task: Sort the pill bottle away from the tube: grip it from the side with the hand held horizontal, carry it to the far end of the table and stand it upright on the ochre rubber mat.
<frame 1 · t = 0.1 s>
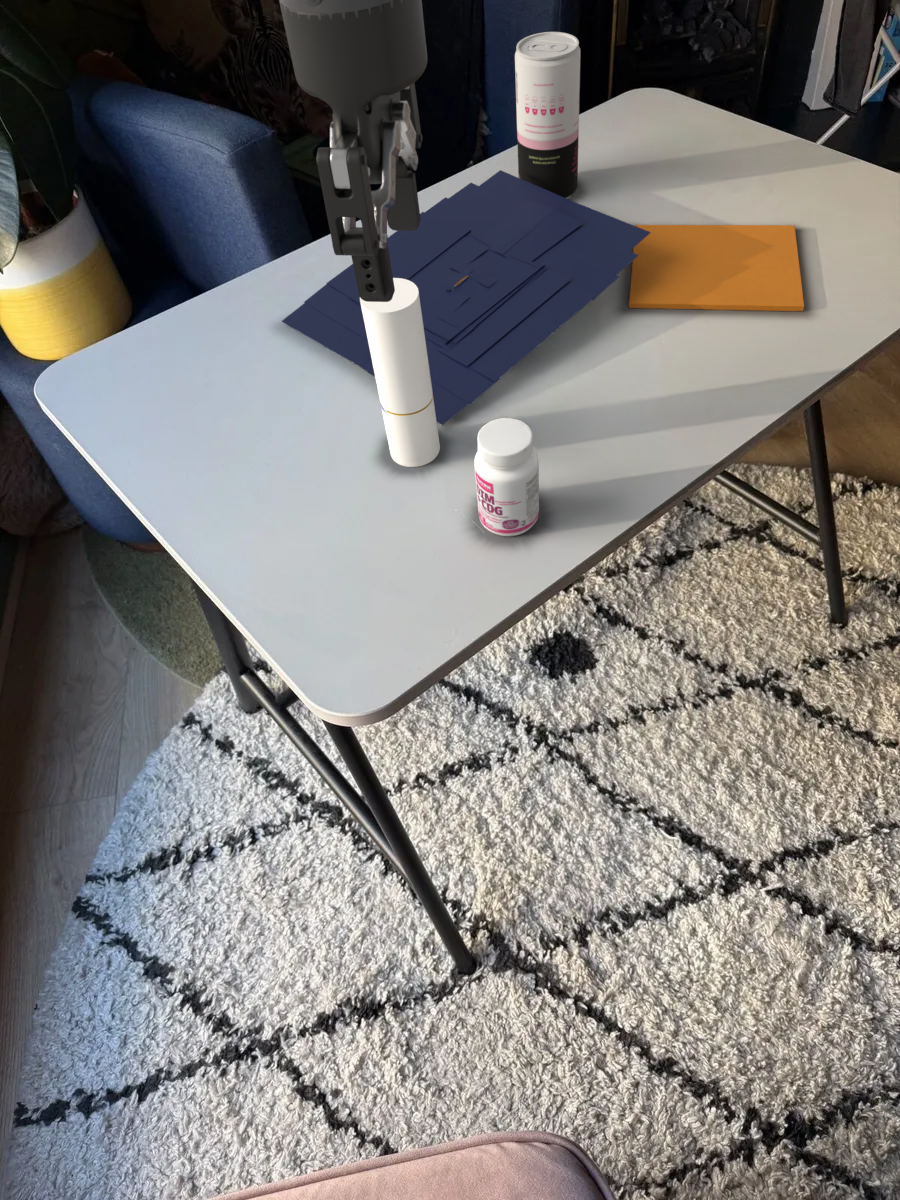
hand: (392, 261, 59), 19 cm above the table, tool pointing down, fingers open, 8 cm apart
pill bottle: (509, 517, 69), on the table
amber mat: (713, 268, 87), on the table
beverage can: (548, 193, 99), on the table
tube: (415, 451, 75), on the table
papers: (470, 302, 88), on the table
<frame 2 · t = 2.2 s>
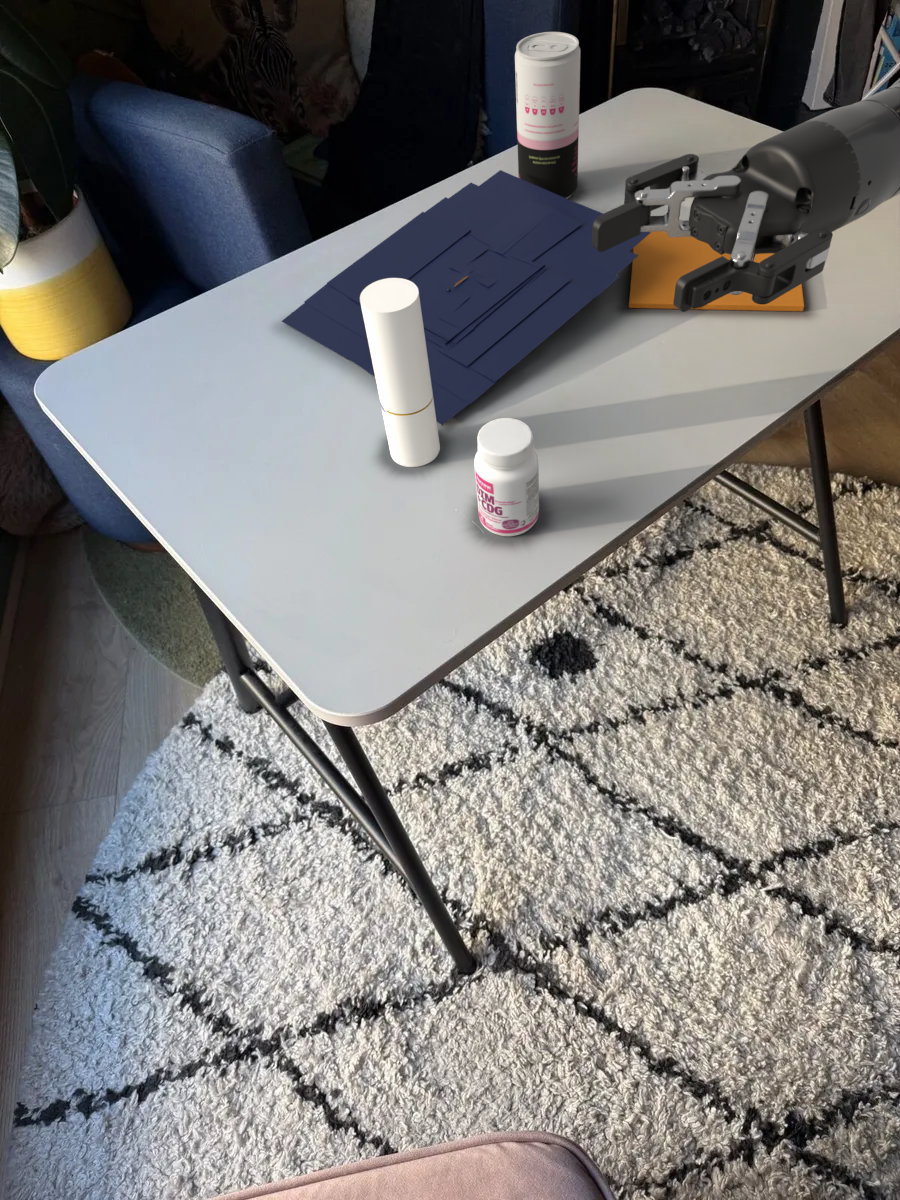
hand: (635, 266, 57), 18 cm above the table, tool horizontal, fingers open, 8 cm apart
nothing on the table moved.
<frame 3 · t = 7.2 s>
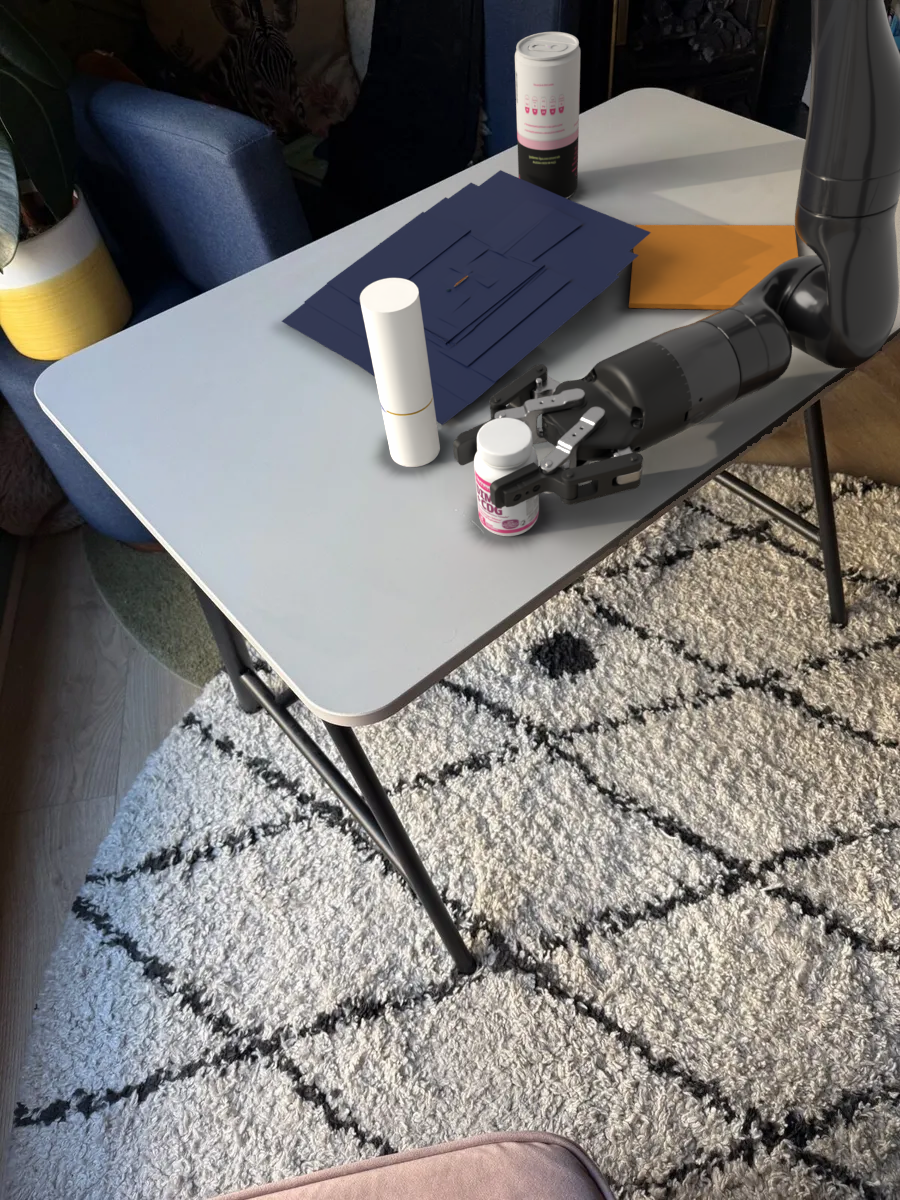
hand: (475, 474, 64), 6 cm above the table, tool horizontal, fingers closed on pill bottle, 4 cm apart
pill bottle: (509, 517, 69), on the table, touching gripper
everything else where it was.
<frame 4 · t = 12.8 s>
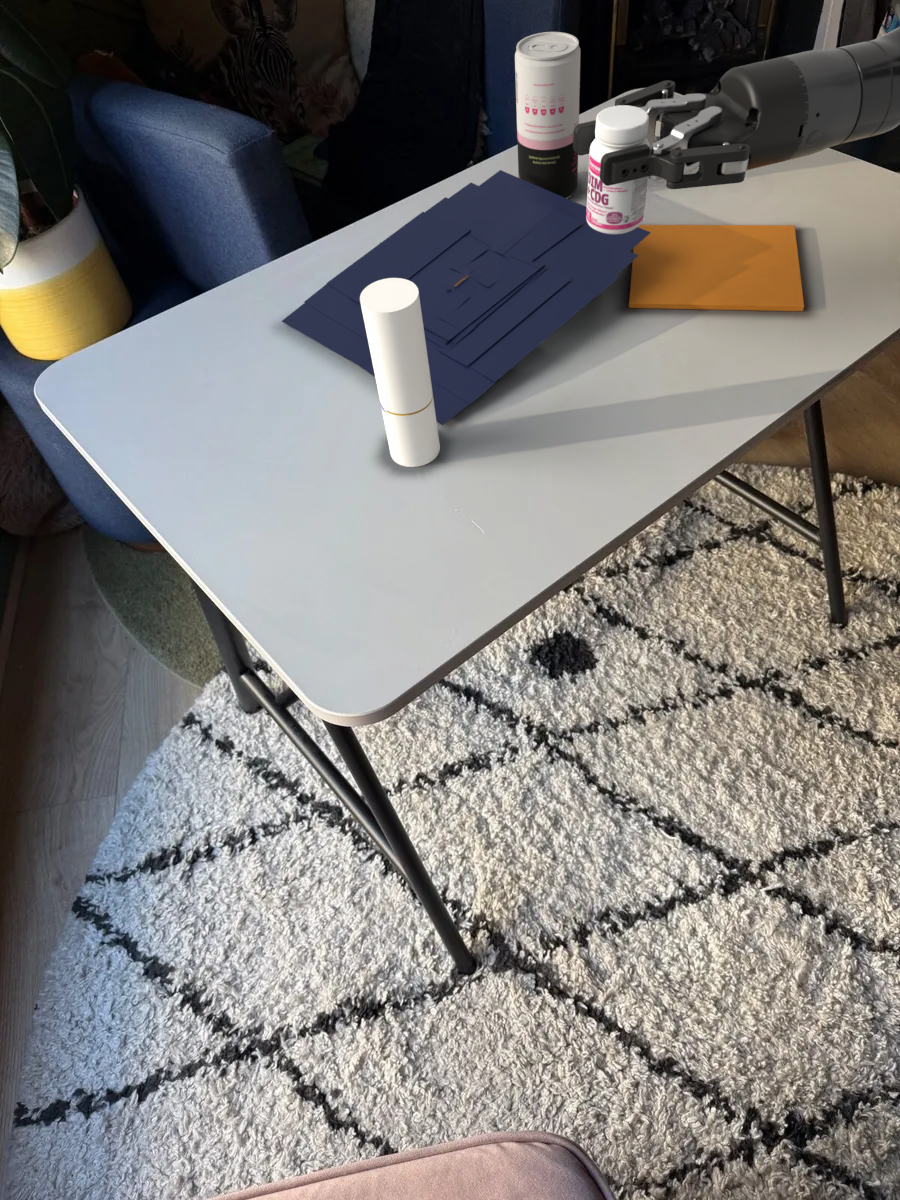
hand: (589, 155, 68), 17 cm above the table, tool horizontal, fingers closed on pill bottle, 4 cm apart
pill bottle: (614, 223, 74), point 11 cm above the table, touching gripper
everything else where it was.
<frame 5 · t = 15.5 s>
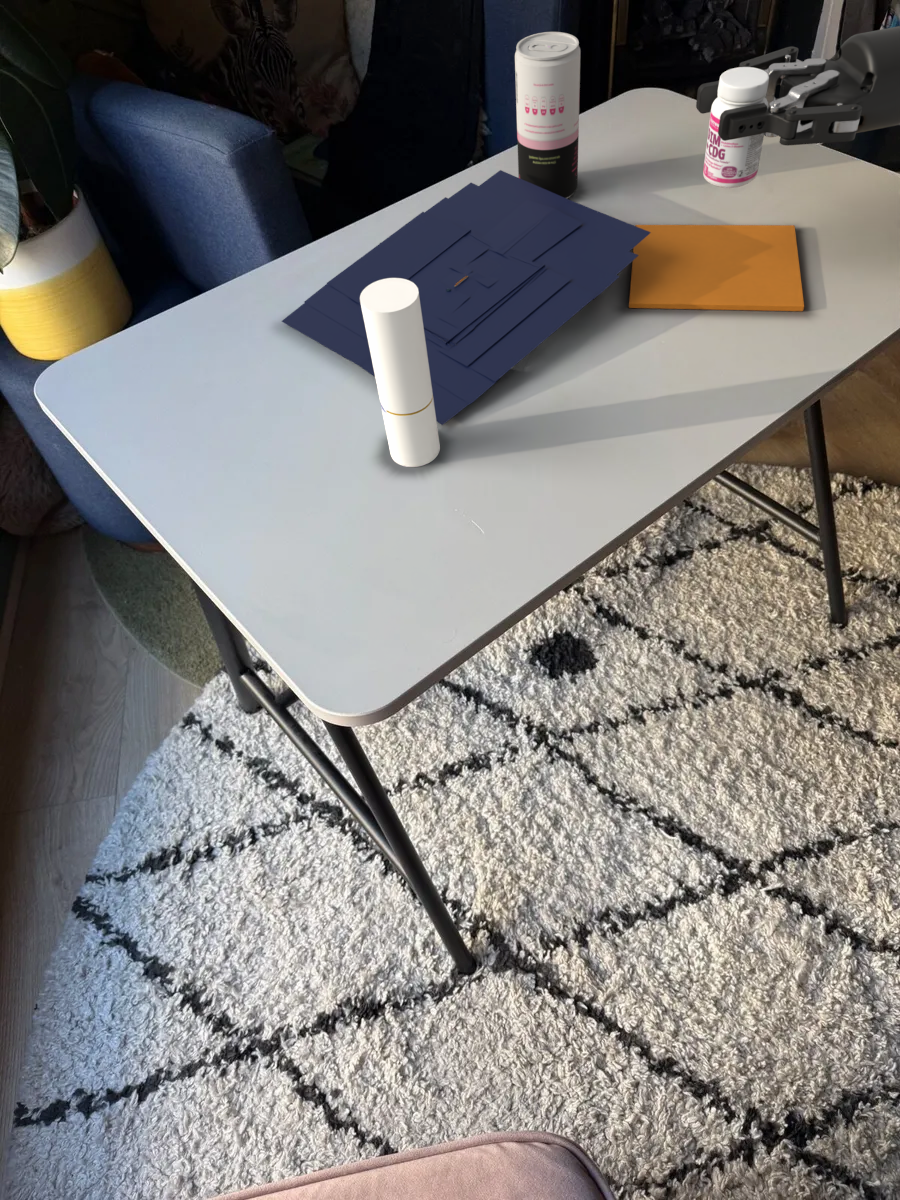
hand: (710, 112, 75), 15 cm above the table, tool horizontal, fingers closed on pill bottle, 4 cm apart
pill bottle: (729, 178, 80), point 9 cm above the table, touching gripper
everything else where it was.
when the fingers open (7 cm above the table, at t = 18.2 s): pill bottle stays where it is, resting on amber mat.
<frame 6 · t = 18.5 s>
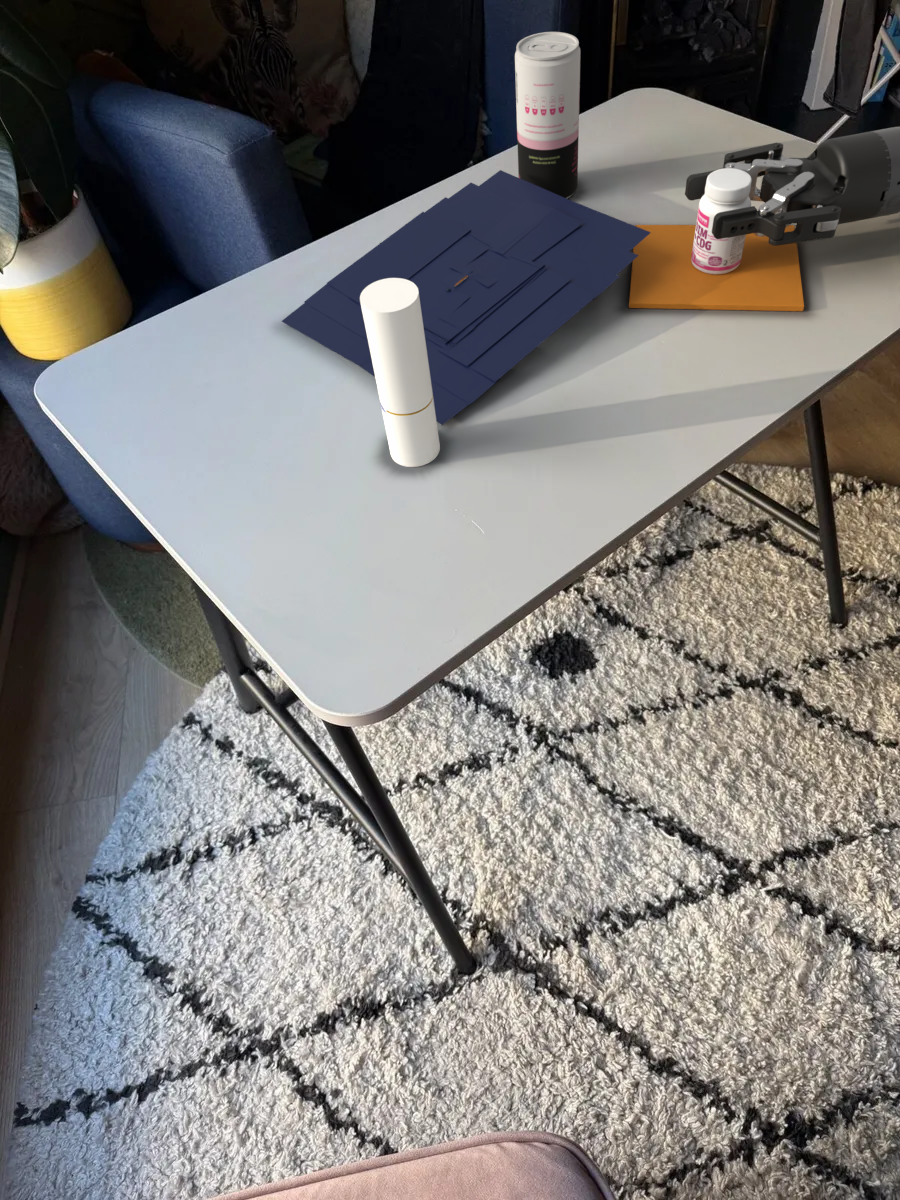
hand: (700, 207, 82), 7 cm above the table, tool horizontal, fingers open, 6 cm apart
pill bottle: (715, 264, 87), resting on amber mat
everything else where it was.
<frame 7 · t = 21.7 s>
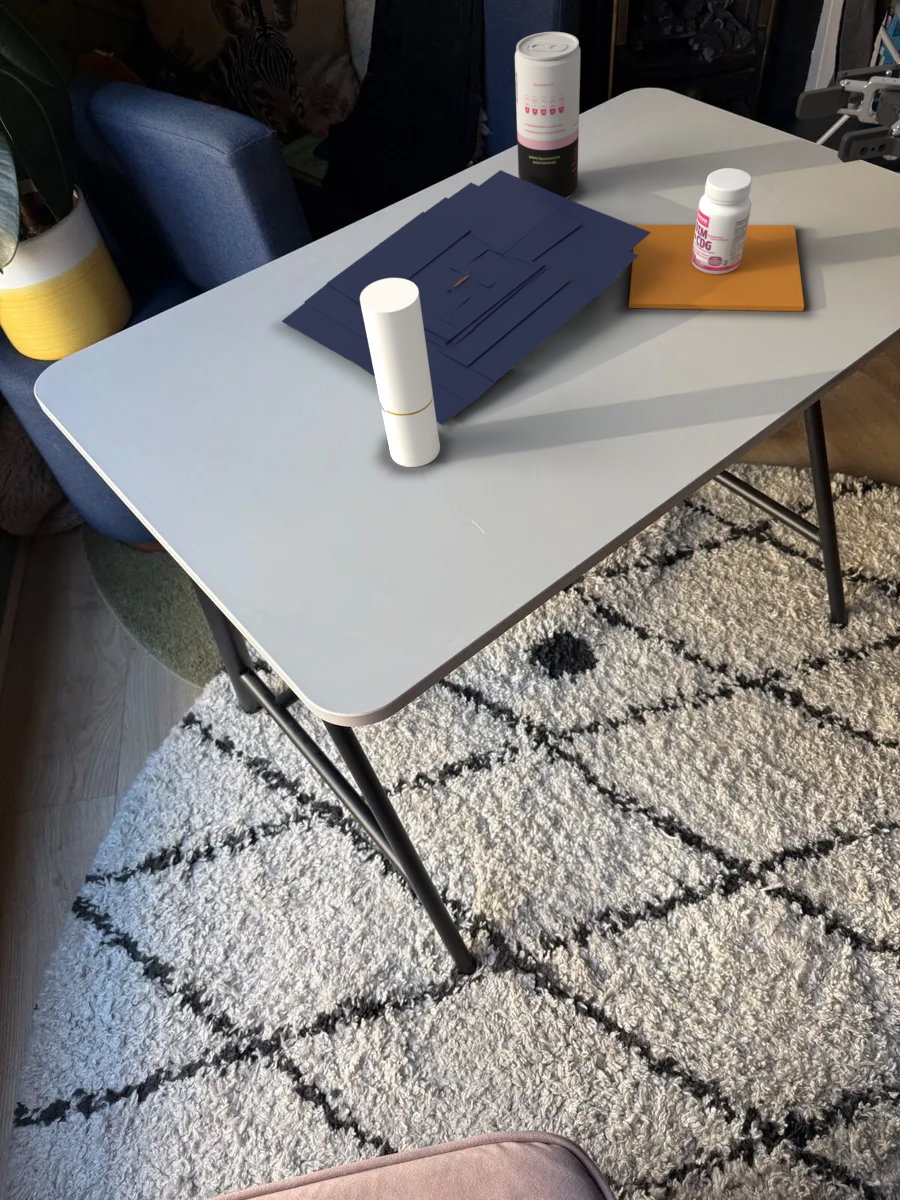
hand: (819, 127, 76), 13 cm above the table, tool horizontal, fingers open, 8 cm apart
nothing on the table moved.
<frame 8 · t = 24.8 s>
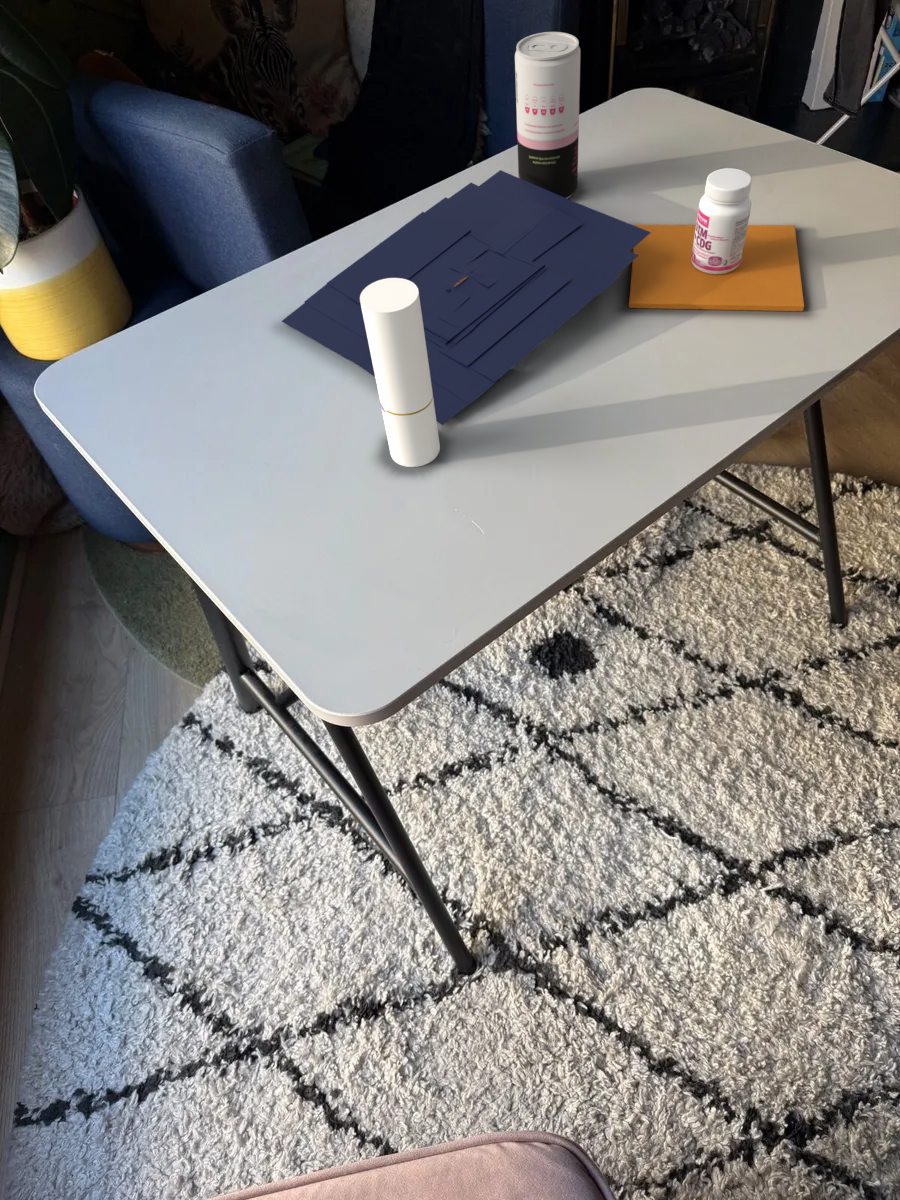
nothing on the table moved.
at the end: pill bottle inside the target area on the amber mat (0.1 cm from its centre), point 0.4 cm above the amber mat's base; pill bottle tilted 0°; tube moved 0.2 cm from its start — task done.
